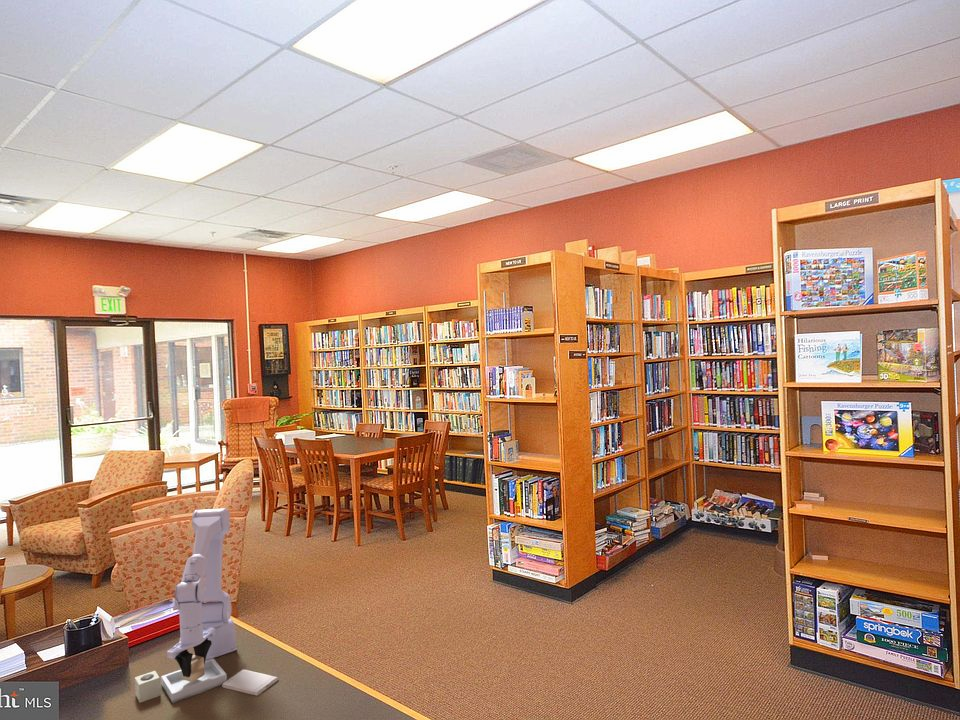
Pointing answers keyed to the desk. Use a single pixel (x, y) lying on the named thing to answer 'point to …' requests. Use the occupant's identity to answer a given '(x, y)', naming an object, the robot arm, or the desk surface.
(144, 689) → the oversize block
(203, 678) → the tray
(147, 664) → the desk surface
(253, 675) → the white flat slab
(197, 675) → the block
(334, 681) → the desk surface
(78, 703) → the desk surface
